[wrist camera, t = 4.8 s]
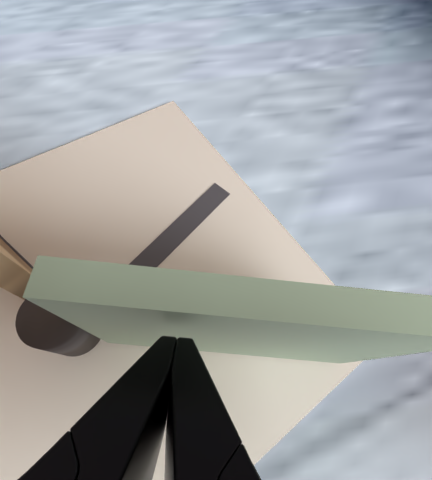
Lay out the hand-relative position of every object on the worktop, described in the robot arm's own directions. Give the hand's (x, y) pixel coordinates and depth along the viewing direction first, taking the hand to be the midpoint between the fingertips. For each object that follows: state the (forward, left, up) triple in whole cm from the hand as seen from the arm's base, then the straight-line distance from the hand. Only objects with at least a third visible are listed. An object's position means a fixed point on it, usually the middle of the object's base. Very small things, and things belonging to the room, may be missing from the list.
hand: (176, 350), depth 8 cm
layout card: (0, +5, -7) cm, 8 cm away
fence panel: (+2, 0, -6) cm, 7 cm away
